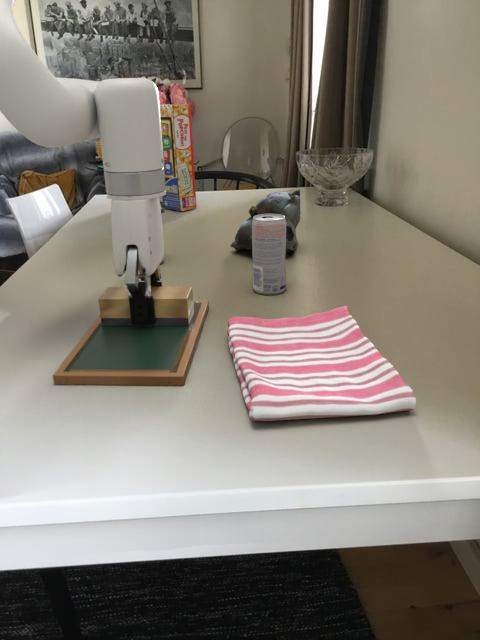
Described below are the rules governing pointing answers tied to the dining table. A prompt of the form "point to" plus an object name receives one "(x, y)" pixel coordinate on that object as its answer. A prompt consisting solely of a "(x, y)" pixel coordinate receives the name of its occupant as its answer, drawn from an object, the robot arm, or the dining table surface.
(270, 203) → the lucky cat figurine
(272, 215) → the energy drink
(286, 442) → the dining table surface
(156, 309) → the eraser
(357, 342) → the dish towel
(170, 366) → the chalkboard
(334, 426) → the dining table surface
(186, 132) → the board game
